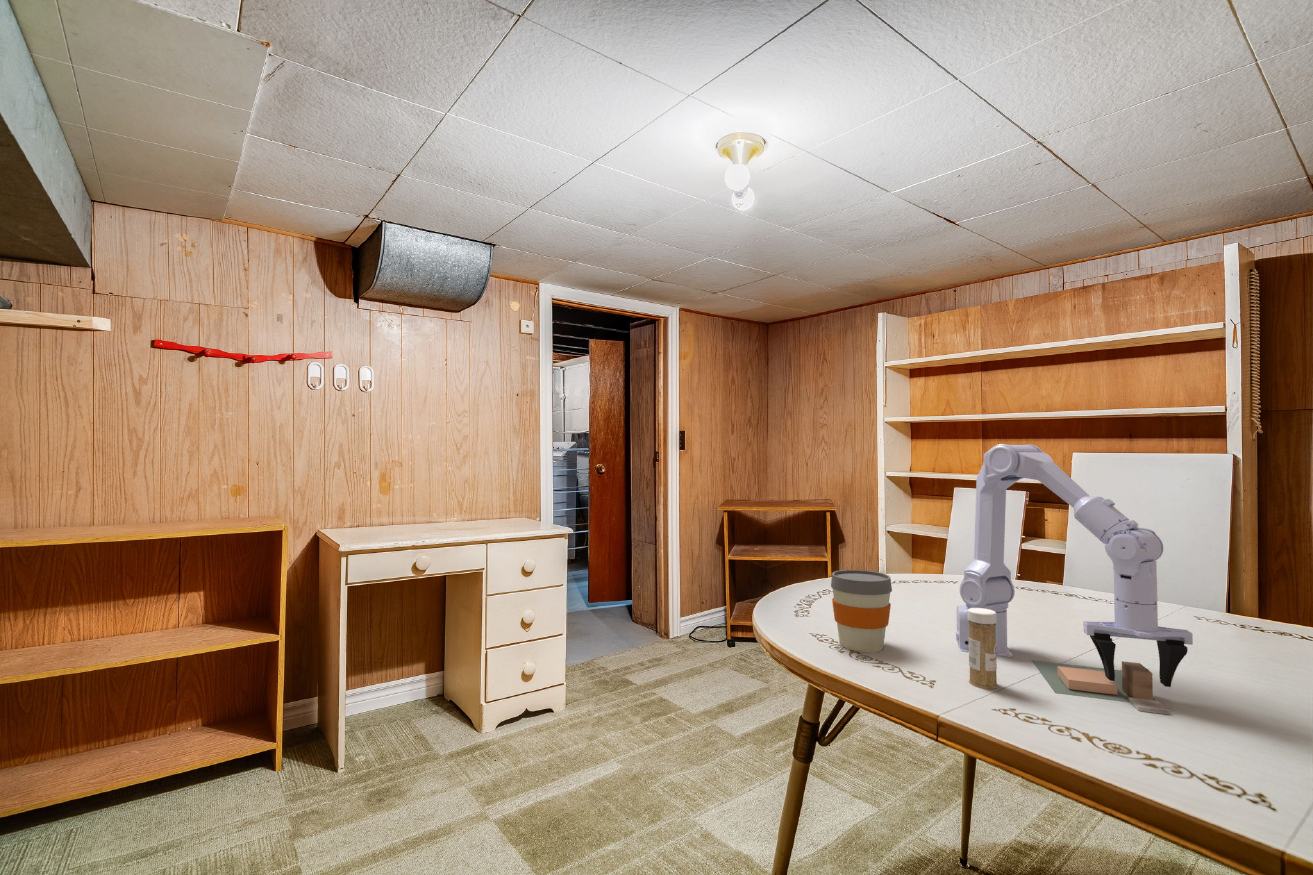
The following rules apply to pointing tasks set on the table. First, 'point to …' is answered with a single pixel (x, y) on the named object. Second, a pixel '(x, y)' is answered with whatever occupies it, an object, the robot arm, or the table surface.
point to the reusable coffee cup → (861, 608)
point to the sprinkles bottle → (982, 648)
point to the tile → (1086, 680)
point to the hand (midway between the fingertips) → (1137, 681)
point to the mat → (1059, 687)
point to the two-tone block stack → (1140, 688)
